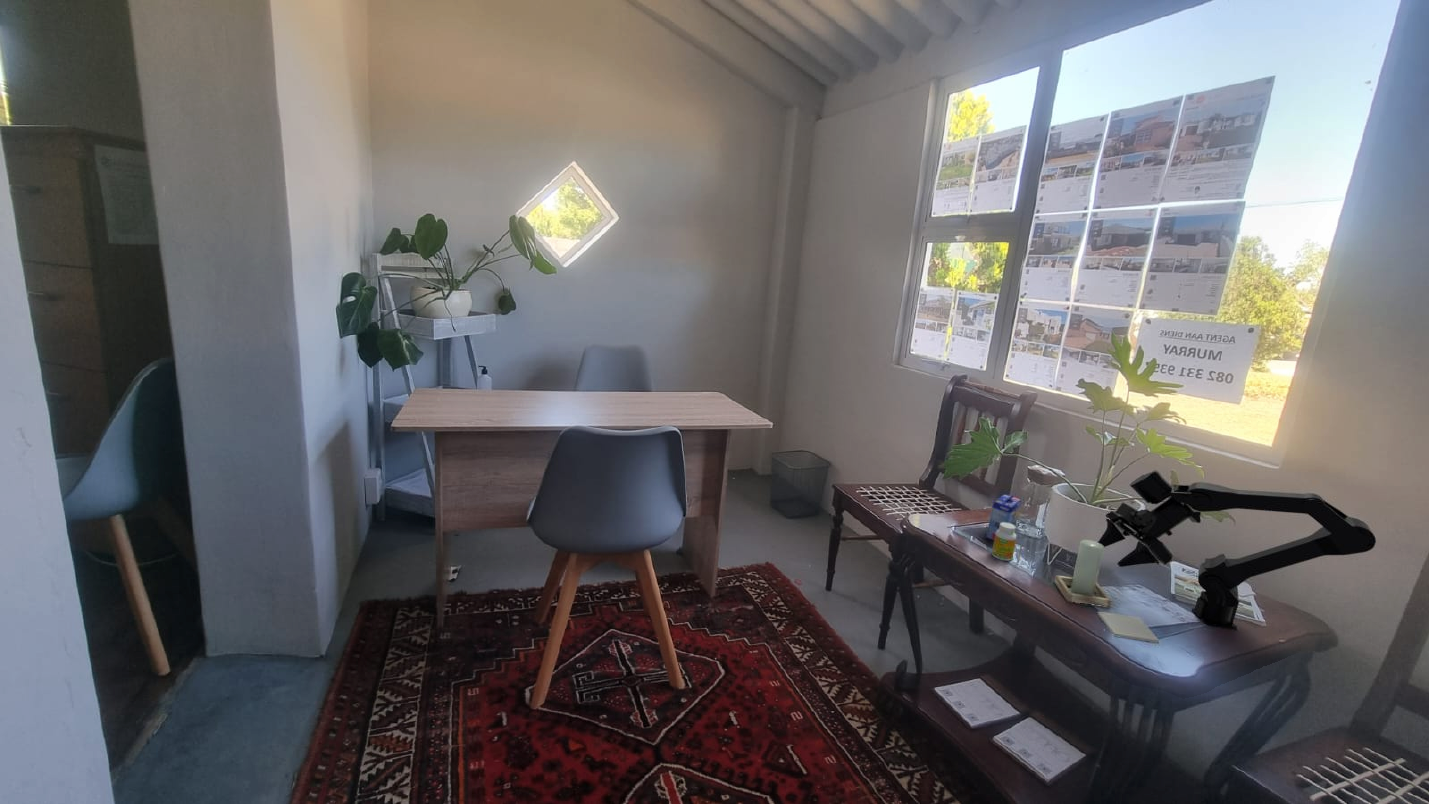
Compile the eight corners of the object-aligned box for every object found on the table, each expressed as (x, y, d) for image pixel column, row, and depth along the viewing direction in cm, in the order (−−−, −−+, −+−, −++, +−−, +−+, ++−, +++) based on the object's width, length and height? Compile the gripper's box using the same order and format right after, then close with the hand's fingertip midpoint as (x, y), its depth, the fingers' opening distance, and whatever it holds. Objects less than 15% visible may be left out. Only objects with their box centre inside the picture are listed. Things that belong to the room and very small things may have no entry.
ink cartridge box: (1004, 544, 174) (1012, 499, 171) (985, 538, 178) (993, 494, 174) (1015, 535, 181) (1023, 491, 178) (996, 529, 185) (1004, 486, 181)
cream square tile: (1139, 619, 138) (1139, 617, 138) (1158, 642, 130) (1159, 640, 130) (1097, 613, 140) (1097, 611, 140) (1114, 636, 132) (1114, 633, 132)
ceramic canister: (1088, 591, 150) (1099, 541, 147) (1096, 601, 146) (1107, 550, 142) (1067, 587, 151) (1077, 538, 148) (1074, 598, 147) (1085, 547, 143)
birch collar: (1094, 587, 152) (1095, 580, 152) (1110, 608, 143) (1112, 600, 142) (1054, 581, 154) (1055, 575, 153) (1067, 601, 145) (1069, 594, 144)
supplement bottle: (993, 558, 165) (998, 527, 163) (990, 550, 170) (996, 519, 168) (1013, 562, 163) (1019, 531, 161) (1010, 554, 168) (1016, 523, 166)
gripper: (1120, 481, 151) (1068, 517, 154) (1171, 511, 133) (1111, 551, 136) (1145, 512, 152) (1093, 547, 155) (1198, 545, 134) (1138, 584, 137)
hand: (1107, 556), depth 146 cm, fingers open, 9 cm apart
